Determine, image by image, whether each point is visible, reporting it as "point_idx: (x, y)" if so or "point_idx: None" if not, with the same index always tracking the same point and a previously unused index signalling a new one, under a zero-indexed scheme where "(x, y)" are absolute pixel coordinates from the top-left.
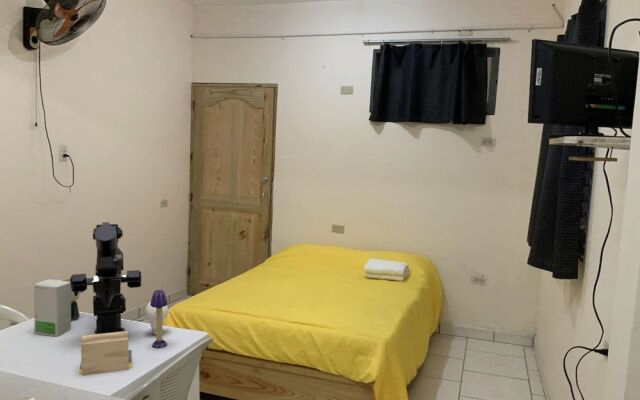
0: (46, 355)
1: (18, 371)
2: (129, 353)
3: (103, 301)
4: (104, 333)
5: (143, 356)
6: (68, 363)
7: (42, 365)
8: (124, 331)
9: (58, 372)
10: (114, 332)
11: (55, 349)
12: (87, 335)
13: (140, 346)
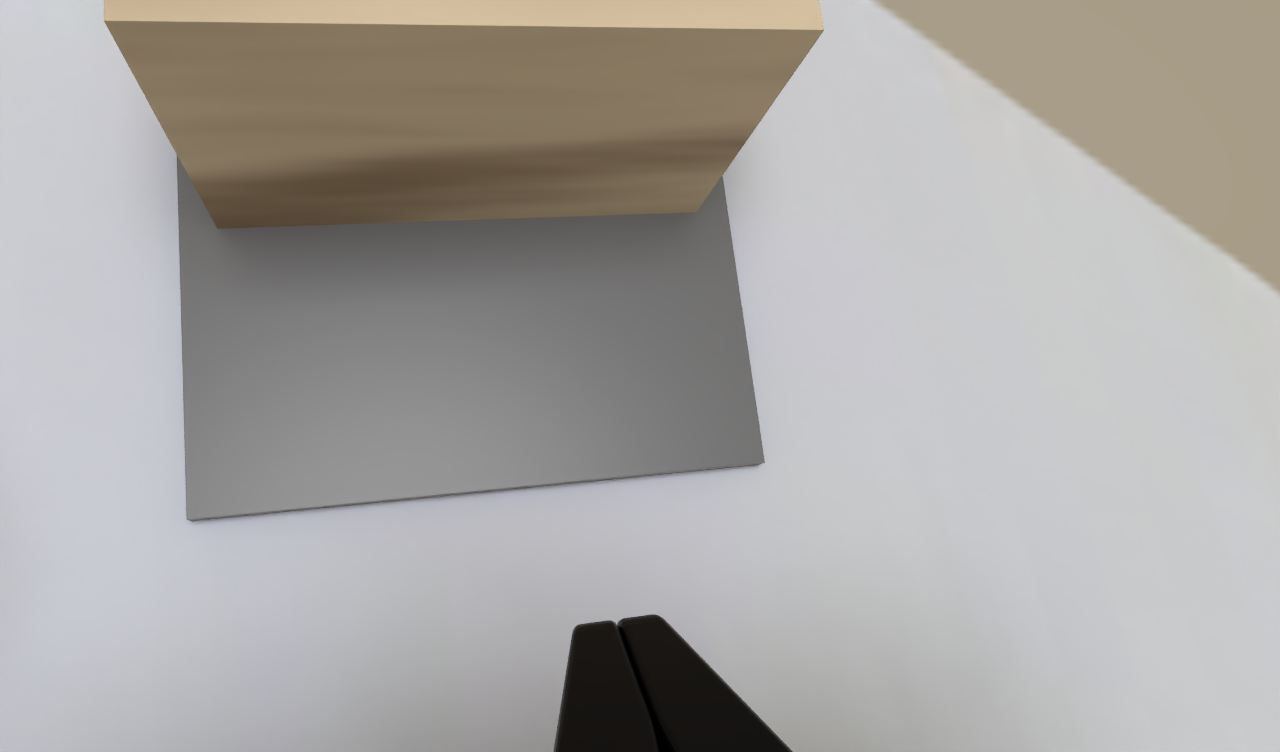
0: (1124, 589)
1: (1216, 267)
2: (212, 406)
3: (754, 715)
4: (514, 24)
5: (30, 323)
6: (856, 332)
7: (1074, 345)
8: (171, 17)
9: (888, 154)
10: (350, 18)
11: (1094, 748)
12: (759, 18)
13: (63, 673)
